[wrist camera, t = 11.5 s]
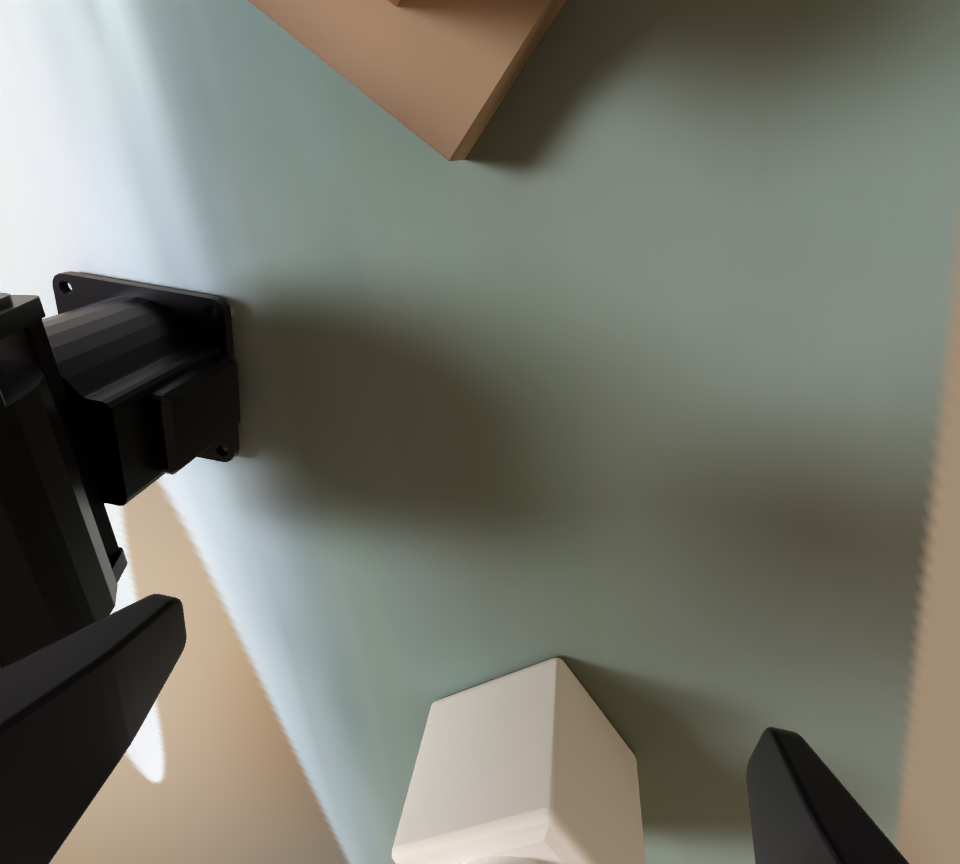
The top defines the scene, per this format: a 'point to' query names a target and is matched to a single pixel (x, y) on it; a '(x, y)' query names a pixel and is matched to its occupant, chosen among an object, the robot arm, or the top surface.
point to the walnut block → (424, 56)
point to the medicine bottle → (522, 778)
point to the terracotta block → (394, 2)
